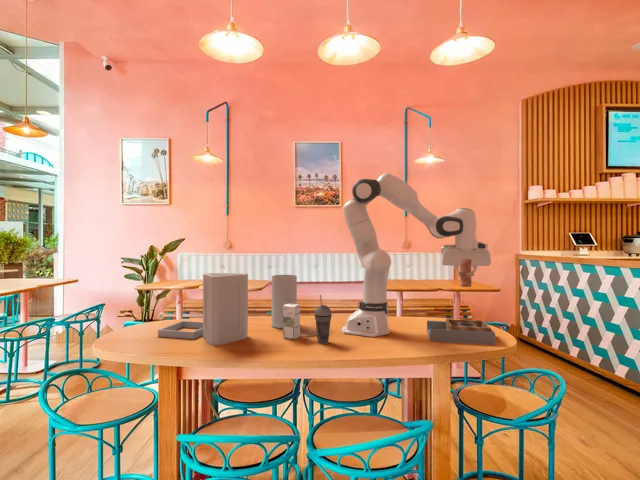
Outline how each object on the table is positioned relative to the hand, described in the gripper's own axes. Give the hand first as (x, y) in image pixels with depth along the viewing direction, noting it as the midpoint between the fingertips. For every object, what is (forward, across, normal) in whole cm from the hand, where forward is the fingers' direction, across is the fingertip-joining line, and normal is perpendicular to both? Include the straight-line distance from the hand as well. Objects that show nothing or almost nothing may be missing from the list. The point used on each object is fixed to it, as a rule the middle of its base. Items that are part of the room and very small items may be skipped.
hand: (465, 275), depth 153 cm
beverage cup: (+27, -60, -22) cm, 70 cm away
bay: (+27, -3, -1) cm, 28 cm away
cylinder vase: (+27, -85, +1) cm, 89 cm away
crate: (+26, 0, -1) cm, 26 cm away
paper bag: (+27, -103, -29) cm, 111 cm away
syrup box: (+27, -75, -18) cm, 82 cm away
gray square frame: (+27, -124, -21) cm, 129 cm away
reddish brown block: (+5, 0, 0) cm, 5 cm away
